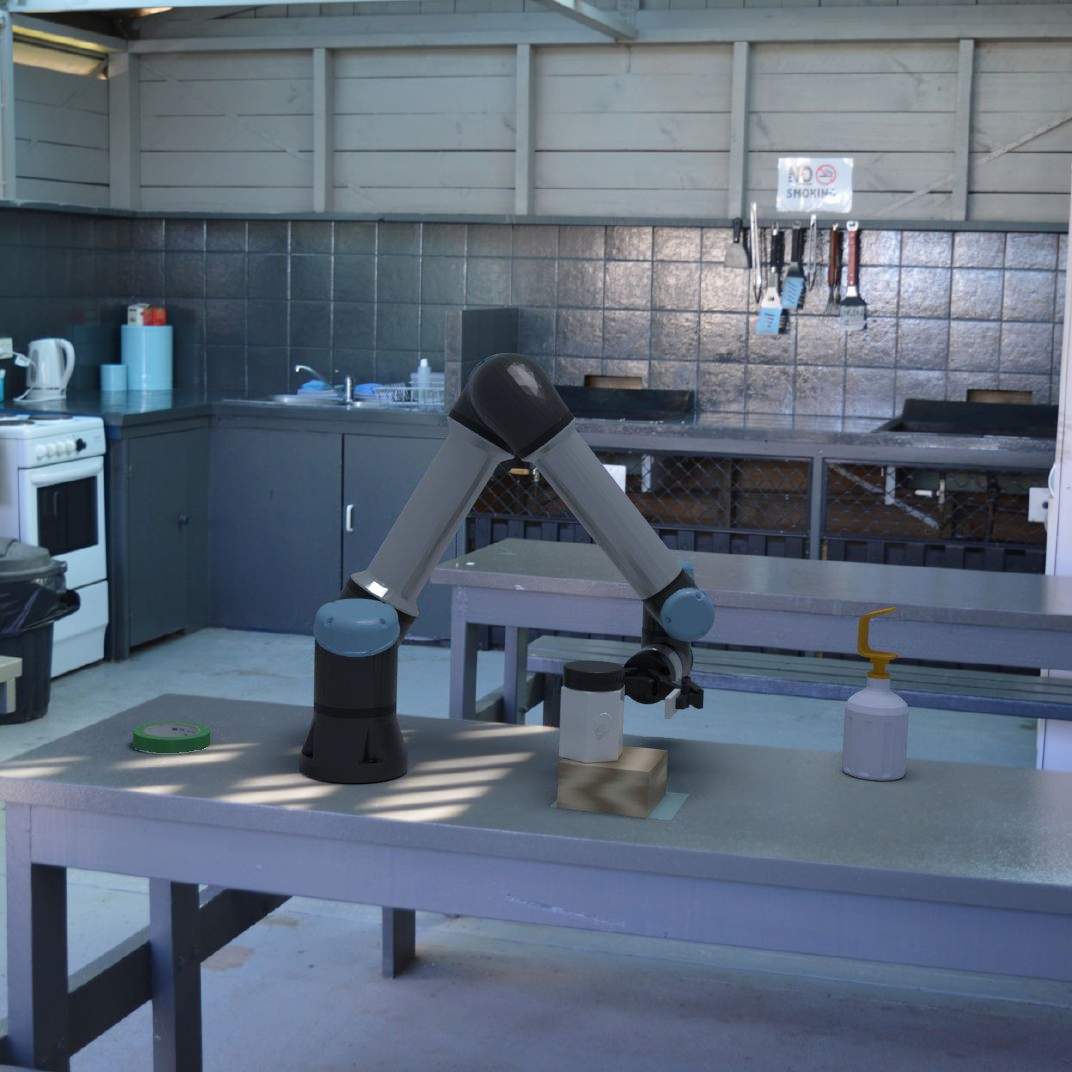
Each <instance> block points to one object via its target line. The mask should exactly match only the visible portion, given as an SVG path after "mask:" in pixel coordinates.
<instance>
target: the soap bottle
mask: <svg viewBox="0 0 1072 1072" xmlns="http://www.w3.org/2000/svg"><path fill="white" fill-rule="evenodd" d="M897 610H898V608H897V607H894V606H893V607H890V608H884V609H880V610H874V611H872V612H869V613H867V614H865V615H863V616H862V617H861V618H859V620H858V629H857V654H858V655H860V656H861V657H864V658H869V662H870V663H871V664H873V667H872V668H873V669H872V670H870V671H867V675H866V686H865V687H864V688H863V689H862V690H859V691H857V692H855V693H854V694H853V695H851V696H850V697H849V698H848V699H847V700H846V703H845V706H844V718H843V736H842V755H841V770H842V771H843V772H844V773H845V774H846V775H848V774H849V776H850V775H851V777H853V776H854V777H853V778H856V777H857V779H860V780H866V781H874V780H877V781H878V782H887V781H895V780H899V779H902V778H903V777H904V776H905V774H906V769H907V768H906V765H907V753H908V752H907V751H908V735H909V734H908V733H909V732H908V731H909V717H910V709H909V705H908V704H907V702H906V701H905V700H903V698H902V697H901V696H899V695H898V694H897V693H895V692H894V691H892V689H891V673H890V672H887V671H886V665H888V664H890V660H891V661H893V660H895V659H897V658H898V657H899V653H898V652H891V651H890V652H889V651H883V650H875V649H871V648H870V646H869V632H870V631H869V630H870V629H869V628H870V621H871V619H872V618H873V617H875V616H880V615H886V614H889V613H893V612H895V611H897Z"/></svg>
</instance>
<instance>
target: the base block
mask: <svg viewBox="0 0 1072 1072" xmlns="http://www.w3.org/2000/svg"><path fill="white" fill-rule="evenodd" d="M668 752H669V750H667V749H659V748H657V749H656V748H648V747H637V746H627V745H623V747H622V754H621V755H620V757H619V759H618V761H616V762H599V763H582V762H579V761H575V760H571V759H567V758H563V757H562V759H560V761H558V766H557V767H558V771H557V772H558V773H557V797H556V800H557V808H556V809H562V808H566V809H565V810H571V809H574V810H573V811H579V810H583V811H582V812H588V811H591V812H590V813H597V812H600V813H599V814H605V813H608V814H607V815H614V814H617V815H616V816H622V815H626V816H625V817H631V816H634V817H633V818H639V817H643V818H642V819H648V817H649V815H650V814H651V813H652V811H653V810H654V809H655V807H656V806H657V805H658V804H659V802H660V801H661V800H662V798H663V797H664V796H665V794H666V792H667V780H668V779H667V776H668V758H669V757H668V754H669V753H668Z"/></svg>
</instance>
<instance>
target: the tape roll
mask: <svg viewBox="0 0 1072 1072" xmlns="http://www.w3.org/2000/svg"><path fill="white" fill-rule="evenodd" d="M209 745H210V746H211V729H210V727H208V726H206V725H204V724H201V723H196V722H189V721H157V722H152V723H151V722H150V723H146V724H141V725H139V726H137V727H135V728H134V729H133V735H132V747H133V746H134V748H136V749H137V750H144V751H149V752H156V753H179V752H189V751H194V750H202V749H204V748H206V747H208V746H209ZM210 746H209V747H210ZM209 747H208V748H209ZM134 748H133V749H134ZM137 750H136V751H137ZM202 751H203V750H202Z"/></svg>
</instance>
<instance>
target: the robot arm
mask: <svg viewBox="0 0 1072 1072" xmlns="http://www.w3.org/2000/svg"><path fill="white" fill-rule="evenodd" d="M446 419H447V420H446V421H447V424H448V425H447V426H448V428H449V429H448V430H449V431H448V434H447V436H446V437H445V440H444V441H443V443H442V445H441V446H440V448H439V450H438V451H437V453H436V455H435V456H434V458H433V459H432V461H431V463H430V464H429V466H428V467H427V469H426V471H425V473H424V474H423V476H422V477H421V479H420V481H419V483H418V484H417V486H416V487H415V489H414V491H413V493H411V495H410V497H409V499H408V501H406V504H405V506H404V507H403V509H402V510H401V512H400V513H399V516H398V517H397V519H396V520H395V522H394V524H393V526H391V529H390V530H389V532H388V533H387V536H386V537H385V538H384V540H383V542H382V544H381V545H380V547H379V549H378V550H377V552H376V554H375V555H374V557H373V558H372V560H371V562H370V563H369V565H368V567H367V568H366V569H365V570H362V571H358V572H355V573H352V574H351V575H350V576H349V578H348V580H347V581H346V583H345V585H344V587H343V588H342V590H341V592H340V593H339V595H338V597H337V598H336V600H334V601H333V602H327V603H324V604H323V605H322V606H321V607H319V608H318V609H317V611H316V614H315V621H314V624H313V635H314V655H313V656H314V659H313V660H314V661H313V663H314V665H313V667H314V668H313V709H312V710H313V712H312V713H313V715H312V718H311V721H310V725H309V727H308V730H307V734H306V736H305V738H304V739H305V740H304V742H303V745H302V748H301V750H300V753H299V771H300V772H301V774H303V775H305V776H306V777H309V778H312V779H315V780H318V781H324V782H330V783H342V784H363V783H364V784H365V783H376V782H383V781H388V780H393V779H396V778H399V777H401V776H403V775H405V774H406V773H407V771H408V769H409V768H408V765H409V762H408V761H409V755H408V750H407V748H406V743H405V740H404V737H403V734H402V731H401V727H400V724H399V720H398V717H397V716H398V715H397V708H398V707H397V704H398V703H397V702H398V667H399V666H398V663H399V659H398V658H399V647H400V646H401V644H402V643H403V641H404V639H405V638H406V636H407V635H408V633H409V632H410V629H411V627H412V626H413V624H414V623H415V621H416V620H417V618H418V616H419V614H420V613H419V610H418V605H417V598H418V596H419V595H420V593H421V592H422V591H423V588H424V587H425V585H426V583H427V582H428V580H429V579H430V577H431V575H432V573H433V572H434V570H435V569H436V567H437V565H438V563H439V562H440V560H441V559H442V557H443V556H444V554H445V552H446V550H447V548H448V547H449V546H450V544H451V542H452V541H453V540H454V538H455V536H456V534H457V532H458V531H459V530H460V527H461V526H462V524H463V523H464V521H465V519H466V518H467V516H468V514H469V513H470V511H471V509H472V508H473V506H474V505H475V503H476V501H477V499H479V497H480V495H481V493H482V492H483V490H484V488H485V487H486V485H487V483H488V481H489V480H490V479H491V477H492V475H493V474H494V471H495V470H496V469H497V467H498V465H499V464H500V463H502V462H504V461H508V460H513V459H514V458H515V457H516V455H517V456H518V457H519V459H520V460H521V461H522V462H527V463H531V464H533V465H534V466H535V468H536V469H537V470H538V471H539V473H540V474H541V475H542V477H543V478H544V479H545V480H546V481H547V483H548V484H549V485H550V486H551V488H552V489H553V491H555V493H556V494H557V496H559V498H560V499H561V500H562V502H563V503H564V504H565V506H566V507H567V508H568V509H569V510H570V512H571V513H572V514H573V515H574V517H575V518H576V519H577V520H578V521H579V523H580V524H581V525H582V527H583V528H584V530H585V531H586V532H587V534H589V536H590V537H591V538H592V540H594V542H595V543H596V545H597V546H598V547H599V549H600V550H601V551H602V552H603V553H604V554H605V556H606V558H608V559H609V561H610V562H611V563H612V565H613V566H614V567H615V569H616V570H617V571H618V572H619V574H620V575H621V577H623V579H624V580H625V581H626V582H627V584H628V585H629V586H630V587H631V589H632V590H633V591H634V592H635V594H636V595H637V596H638V598H639V599H640V600H641V601H642V623H641V626H642V627H641V637H640V639H641V640H640V641H641V642H640V646H641V647H640V650H639V651H637V652H635V654H633V655H632V656H631V657H630V658H628V660H627V661H625V663H624V665H622V666H623V667H624V668H625V679H624V680H625V681H624V685H625V696H628V697H629V698H630V699H631V700H632V701H634V702H636V703H637V704H642V705H653V704H657V703H659V702H661V701H664V715H663V716H664V720H665V719H668V720H671V719H672V717H674V715H676V713H678V711H679V710H686V709H689V708H690V706H692V707H693V708H694V709H697V710H702V709H704V696H705V690H704V689H703V688H701V686H699V685H698V684H697V683H695V682H694V681H692V677H691V676H689V675H690V674H691V671H692V670H693V667H694V666H695V665H694V664H695V660H696V659H695V651H694V648H693V646H692V642H696V641H699V640H701V639H702V638H705V637H706V636H707V634H708V633H709V632H710V631H711V630H712V627H713V625H714V622H715V618H716V616H715V608H714V604H713V603H712V601H711V599H710V598H709V596H708V595H707V594H706V592H705V591H703V590H701V589H700V588H699V586H698V585H697V584H696V583H695V580H696V579H695V577H694V565H693V564H692V563H691V562H690V561H686V560H681V559H677V558H676V557H675V555H674V554H673V552H671V551H670V549H669V548H668V547H667V545H666V544H665V543H664V541H663V540H662V539H661V538H660V536H659V535H658V534H657V532H656V531H655V530H654V528H653V527H652V526H651V525H650V523H649V522H648V521H647V519H646V518H645V517H644V515H642V513H641V512H640V510H639V509H638V508H637V507H636V505H635V504H634V503H633V502H632V500H631V499H630V497H629V496H627V494H626V492H625V491H624V490H623V489H622V488H621V486H620V484H619V483H618V482H617V481H616V480H615V478H614V477H613V475H611V473H610V472H609V471H608V469H607V468H606V467H605V466H604V464H603V463H602V462H601V460H600V459H599V458H598V457H597V456H596V454H595V453H594V452H593V451H592V449H591V447H590V446H589V445H588V443H586V441H585V440H584V438H583V437H582V436H581V435H580V434H579V432H578V431H577V430H576V421H577V417H575V416H574V413H572V412H571V410H570V408H569V407H568V406H567V404H566V403H565V402H564V401H563V399H562V397H561V396H560V394H559V392H558V390H557V389H556V387H555V386H554V384H553V382H552V380H551V379H550V377H549V375H548V373H547V372H546V370H545V369H544V367H542V365H541V364H539V362H537V361H535V360H534V359H533V358H531V357H530V356H527V355H524V354H521V353H515V352H504V353H503V352H501V353H497V354H493V355H491V356H488V357H486V358H484V359H483V360H481V362H479V363H478V364H476V366H475V367H474V368H473V370H472V371H471V372H470V374H469V376H468V378H467V379H466V383H465V387H464V388H463V390H462V391H461V393H460V395H459V396H458V398H457V400H456V402H455V403H454V405H453V407H452V409H451V410H450V411H449V414H448V415H447V416H446ZM558 685H559V686H558V687H559V688H558V689H559V690H558V693H559V694H558V695H559V696H561V687H562V686H563V675H562V676H559V684H558Z"/></svg>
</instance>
